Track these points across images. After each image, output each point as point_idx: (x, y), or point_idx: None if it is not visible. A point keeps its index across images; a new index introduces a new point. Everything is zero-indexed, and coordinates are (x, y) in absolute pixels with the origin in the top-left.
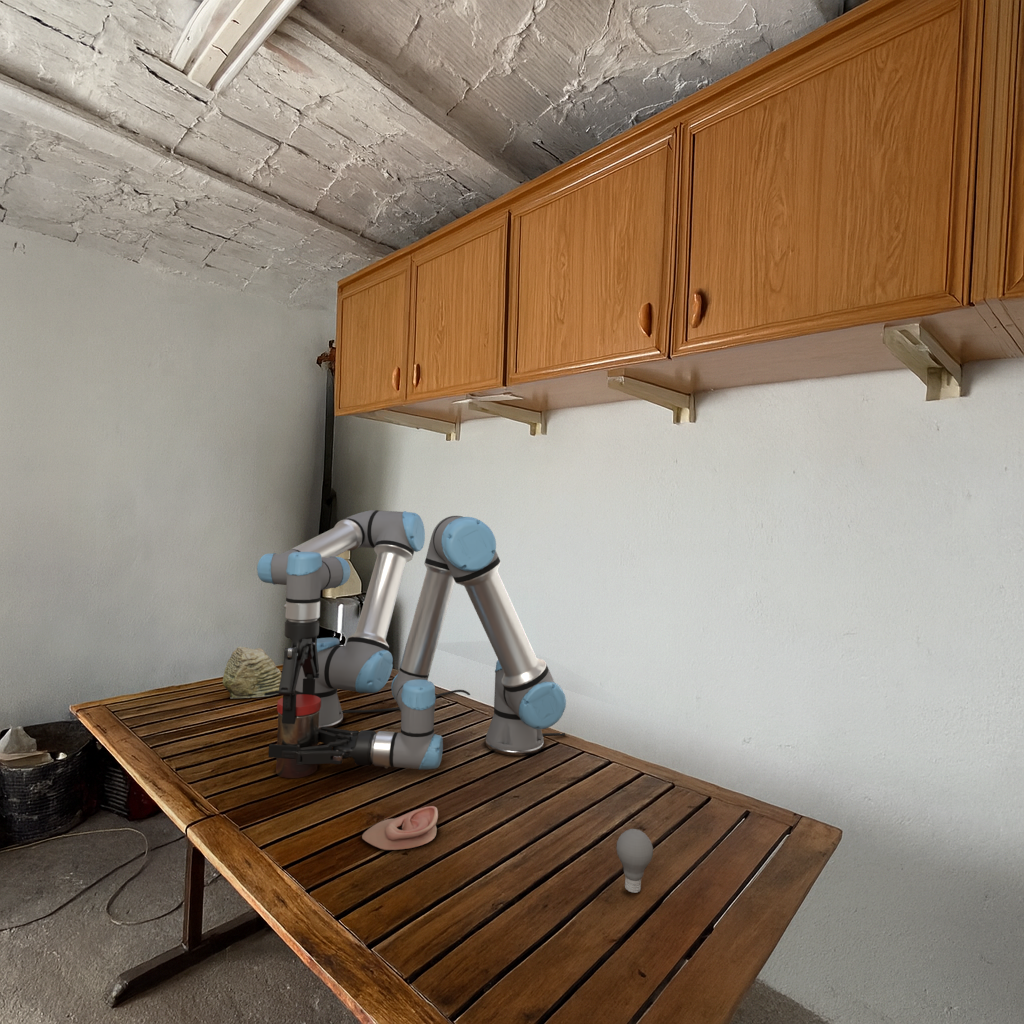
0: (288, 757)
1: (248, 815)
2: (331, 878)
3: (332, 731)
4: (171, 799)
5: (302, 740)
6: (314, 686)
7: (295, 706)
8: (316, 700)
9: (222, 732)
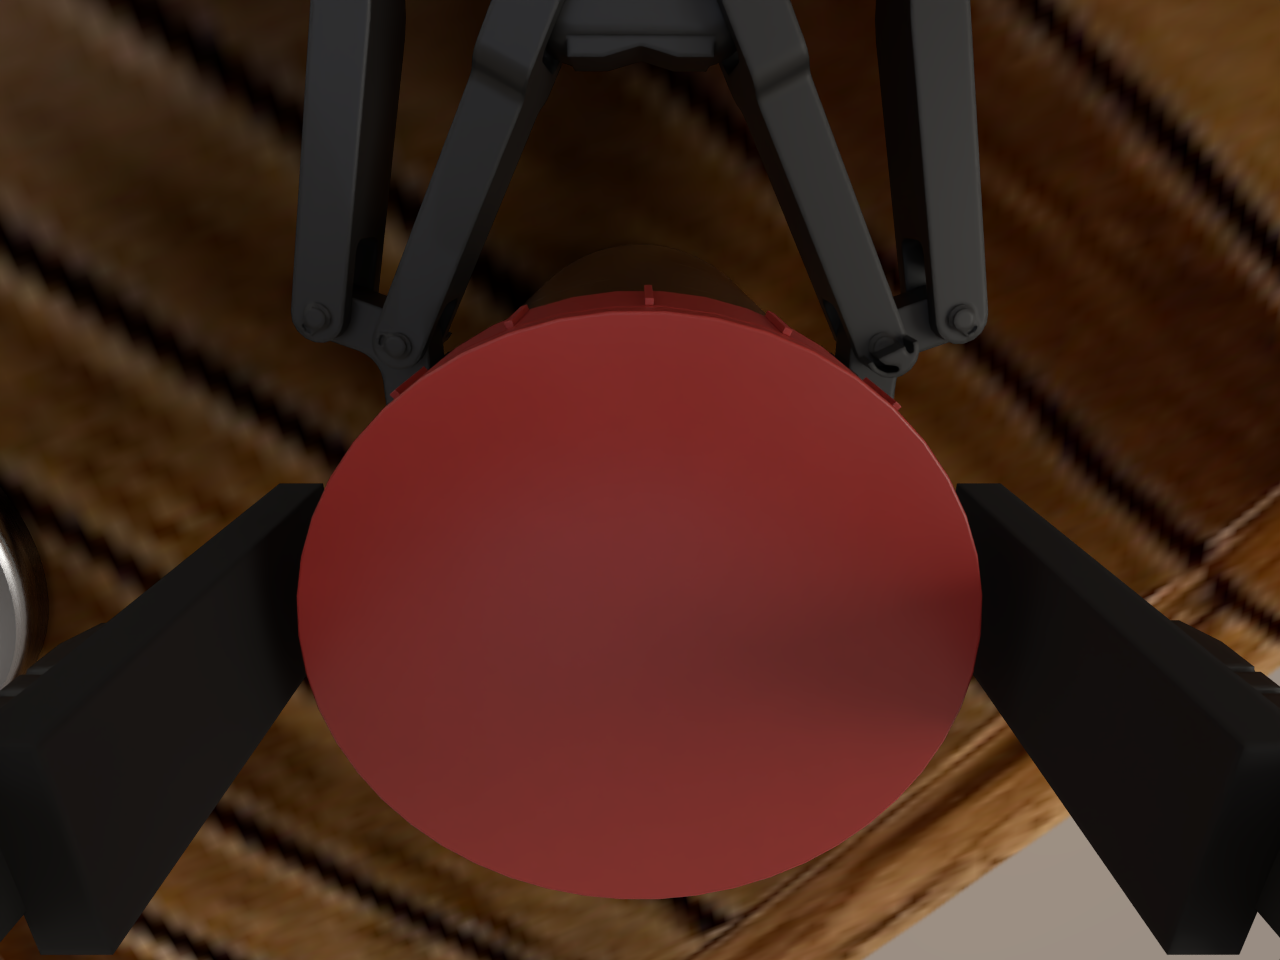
0: None
1: (1249, 417)
2: None
3: (361, 192)
4: (1029, 814)
5: None
6: (112, 638)
7: (1098, 592)
8: (579, 393)
9: (238, 941)
